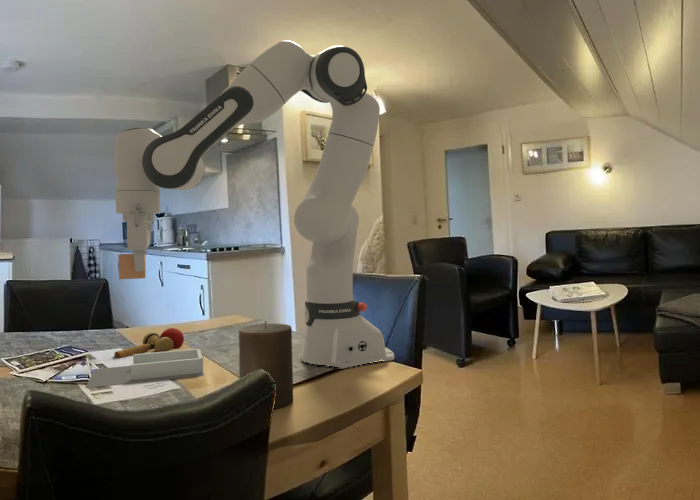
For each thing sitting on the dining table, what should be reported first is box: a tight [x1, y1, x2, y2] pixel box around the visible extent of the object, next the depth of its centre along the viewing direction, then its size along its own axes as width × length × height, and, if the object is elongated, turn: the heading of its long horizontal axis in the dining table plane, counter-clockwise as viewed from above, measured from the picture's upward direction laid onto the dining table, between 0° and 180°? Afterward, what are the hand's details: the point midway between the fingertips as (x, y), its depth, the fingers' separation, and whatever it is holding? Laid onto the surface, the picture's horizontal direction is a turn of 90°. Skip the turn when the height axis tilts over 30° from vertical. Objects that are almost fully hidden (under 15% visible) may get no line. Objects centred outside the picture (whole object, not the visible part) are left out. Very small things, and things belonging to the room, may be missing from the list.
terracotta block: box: [118, 253, 147, 280], centre depth 111 cm, size 5×5×5 cm
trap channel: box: [85, 348, 205, 389], centre depth 110 cm, size 22×14×4 cm, turn 110°
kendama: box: [114, 327, 185, 359], centre depth 130 cm, size 8×6×18 cm
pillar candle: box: [237, 320, 294, 410], centre depth 95 cm, size 10×10×15 cm
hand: (140, 269), depth 111 cm, fingers closed on terracotta block, 5 cm apart
